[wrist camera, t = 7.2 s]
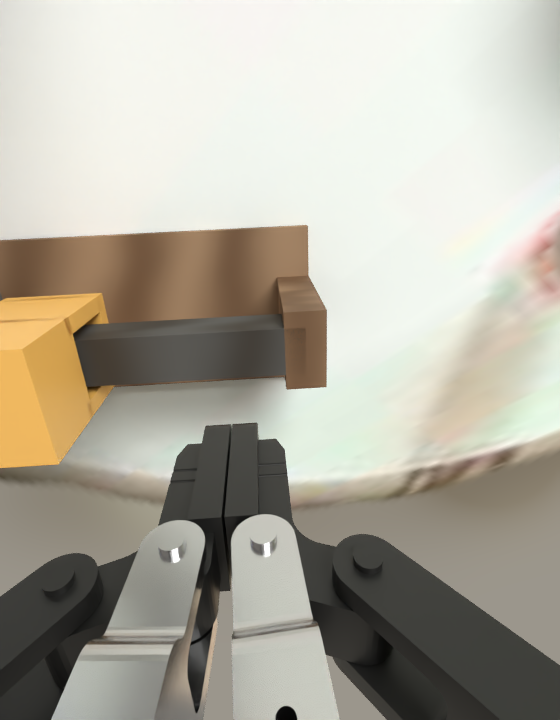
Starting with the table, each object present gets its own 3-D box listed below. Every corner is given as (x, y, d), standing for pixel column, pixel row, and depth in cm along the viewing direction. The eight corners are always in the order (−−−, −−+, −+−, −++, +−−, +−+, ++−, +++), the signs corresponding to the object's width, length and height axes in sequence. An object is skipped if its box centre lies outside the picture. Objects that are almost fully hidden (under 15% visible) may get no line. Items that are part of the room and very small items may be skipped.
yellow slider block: (101, 293, 22) (22, 349, 14) (120, 377, 24) (58, 464, 16) (6, 298, 22) (-124, 357, 14) (33, 382, 24) (-68, 472, 16)
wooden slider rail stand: (306, 225, 25) (331, 246, 17) (308, 371, 29) (329, 449, 21) (-61, 243, 25) (-230, 275, 16) (-7, 390, 29) (-120, 478, 20)
